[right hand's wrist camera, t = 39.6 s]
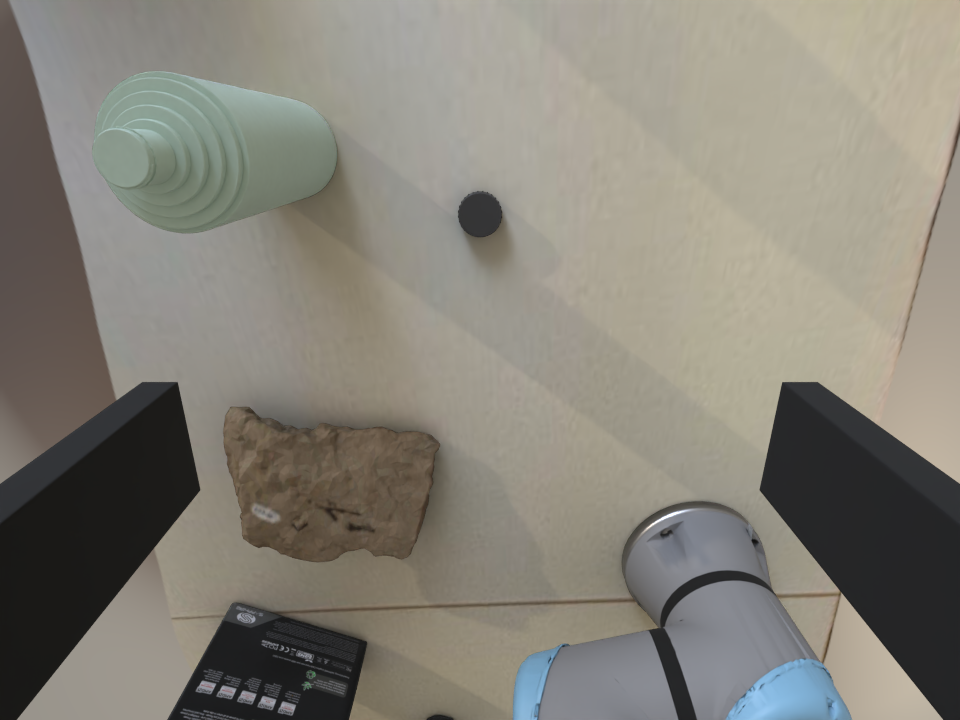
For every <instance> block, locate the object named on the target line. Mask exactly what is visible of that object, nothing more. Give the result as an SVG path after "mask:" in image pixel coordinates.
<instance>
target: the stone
mask: <svg viewBox="0 0 960 720" xmlns="http://www.w3.org/2000/svg"><path fill="white" fill-rule="evenodd" d="M223 434H224V447H225V453H226V455H227V465H228V468H229V473H230V474H231V476H232V478H233V482H234V486H235V490H236V495H237V496H238V502H239V506H240V508H241V512H242V513H241V515H240V518H241V520H242V522H241V524H242V536H243V539H244V540H246V541H247V542H249V543H250V544H252V545H254V546H256V547H258V548H260V547H270V548H272V549H275V550H277V551H278V552H279V553H280V554H285V555H287V556H290V557H292V558H296V559H300V560H306V561H311V562H325V561H332V560H334V559H336V558H338V557H339V556H340V555H341V554H343V553H345V552H347V551H354V550H357V549H363V548H365V549H367V550H368V551H370V552H371V553H372V554H373V555H374V556H382V555H387V556H393V557H396V558H398V559H404V558H406V557H408V556H409V555H410V554H411V551H412V548H413V546H414V544H415V543H416V541H417V538H418V534H419V532H420V529H421V526H422V523H423V519H424V517H425V512H426V508H427V506H428V501H429V491H430V489H431V487H432V484H433V478H432V474H433V470H434V460H435V453H436V452H437V451H438V450H439V447H440V443H439V442H438V441H437V440H436V439H434V437H433V436H432V435H429V434H427V435H426V434H425V433H421V432H408V431H407V432H400V433H398V432H394V431H393V430H388V429H386V428H384V427H374V428H371V429H370V428H367V429H359V430H355V429H352V428H349V427H335V426H332V425H329V424H326V423H321V424H319V425H318V426H317V428H316V429H313V430H311V429H308V428H302V429H299V430H298V429H297V428H295V427H293V426H290V425H286V426H283V425H282V424H280V423H279V422H278V421H276V420H273V419H271V418H260V417H259V416H258V415H257V414H255V412H254V411H253V410H252V409H251V408H249V407H230V409H229V411H228V412H227V414H226V416H225V423H224V430H223Z"/></svg>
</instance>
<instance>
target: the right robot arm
mask: <svg viewBox="0 0 960 720" xmlns="http://www.w3.org/2000/svg"><path fill="white" fill-rule="evenodd" d="M199 491H200V486H199V481H198V477H197V472H196V467H195V462H194V458H193V453H192V448H191V443H190V439H189V434H188V429H187V424H186V420H185V415H184V410H183V405H182V401H181V396H180V391H179V386H178V382H142V383H141V384H139V385H138V386H136V387H135V388H134V389H132V390H131V391H129V392H128V393H127V394H125V395H124V396H122V397H121V398H120V399H118V400H117V401H115V402H114V403H113V404H111V405H110V406H108V407H107V408H106V409H104V410H103V411H101V412H100V413H99V414H97V415H96V416H95V417H93V418H92V419H90V420H89V421H87V422H86V423H85V424H83V425H82V426H81V427H79V428H78V429H76V430H75V431H74V432H72V433H71V434H69V435H68V436H67V437H65V438H64V439H62V440H61V441H60V442H58V443H57V444H55V445H54V446H53V447H51V448H50V449H48V450H47V451H46V452H44V453H43V454H41V455H40V456H39V457H37V458H36V459H34V460H33V461H32V462H30V463H29V464H27V465H26V466H25V467H23V468H22V469H20V470H19V471H18V472H16V473H15V474H13V475H12V476H11V477H9V478H8V479H6V480H5V481H4V482H2V483H1V484H0V720H17V719H18V717H19V716H20V715H21V714H22V712H23V711H24V710H25V709H26V707H27V706H28V705H29V704H30V702H31V701H32V700H33V699H34V697H35V696H36V695H37V694H38V692H39V691H40V690H41V689H42V687H43V686H44V685H45V684H46V682H47V681H48V680H49V679H50V677H51V676H52V675H53V674H54V672H55V671H56V670H57V669H58V667H59V666H60V665H61V664H62V662H63V661H64V660H65V659H66V657H67V656H68V655H69V654H70V652H71V651H72V650H73V649H74V647H75V646H76V645H77V644H78V642H79V641H80V640H81V639H82V637H83V636H84V635H85V634H86V632H87V631H88V630H89V629H90V627H91V626H92V625H93V624H94V622H95V621H96V620H97V619H98V617H99V616H100V615H101V614H102V612H103V611H104V610H105V609H106V607H107V606H108V605H109V604H110V602H111V601H112V600H113V599H114V597H115V596H116V595H117V594H118V592H119V591H120V590H121V589H122V587H123V586H124V585H125V584H126V582H127V581H128V580H129V579H130V577H131V576H132V575H133V574H134V572H135V571H136V570H137V569H138V567H139V566H140V565H141V564H142V562H143V561H144V560H145V559H146V557H147V556H148V555H149V554H150V552H151V551H152V550H153V549H154V547H155V546H156V545H157V544H158V542H159V541H160V540H161V539H162V537H163V536H164V535H165V534H166V532H167V531H168V530H169V529H170V527H171V526H172V525H173V524H174V522H175V521H176V520H177V519H178V517H179V516H180V515H181V514H182V512H183V511H184V510H185V509H186V507H187V506H188V505H189V504H190V502H191V501H192V500H193V499H194V497H195V496H196V495H197V494H198V492H199ZM760 491H761V492H762V494H763V495H764V496H765V497H766V499H767V500H768V501H769V502H770V504H771V505H772V506H773V507H774V509H775V510H776V511H777V512H778V514H779V515H780V516H781V517H782V519H783V520H784V521H785V522H786V524H787V525H788V526H789V527H790V529H791V530H792V531H793V532H794V534H795V535H796V536H797V537H798V539H799V540H800V541H801V542H802V544H803V545H804V546H805V547H806V549H807V550H808V551H809V552H810V554H811V555H812V556H813V557H814V559H815V560H816V561H817V562H818V564H819V565H820V566H821V567H822V569H823V570H824V571H825V572H826V574H827V575H828V576H829V577H830V579H831V580H832V581H833V582H834V584H835V585H836V586H837V587H838V589H839V590H840V591H841V592H842V594H843V595H844V596H845V597H846V599H847V600H848V601H849V602H850V604H851V605H852V606H853V607H854V609H855V610H856V611H857V612H858V614H859V615H860V616H861V617H862V619H863V620H864V621H865V622H866V624H867V625H868V626H869V627H870V629H871V630H872V631H873V632H874V634H875V635H876V636H877V637H878V639H879V640H880V641H881V642H882V644H883V645H884V646H885V647H886V649H887V650H888V651H889V652H890V654H891V655H892V656H893V657H894V659H895V660H896V661H897V662H898V664H899V665H900V666H901V667H902V669H903V670H904V671H905V672H906V674H907V675H908V676H909V677H910V679H911V680H912V681H913V682H914V684H915V685H916V686H917V687H918V689H919V690H920V691H921V692H922V694H923V695H924V696H925V697H926V699H927V700H928V701H929V702H930V704H931V705H932V706H933V707H934V709H935V710H936V711H937V712H938V714H939V715H940V716H941V717H942V719H943V720H960V484H959V483H958V482H956V481H955V480H953V479H952V478H951V477H949V476H948V475H947V474H945V473H944V472H942V471H941V470H940V469H938V468H937V467H935V466H934V465H933V464H931V463H930V462H928V461H927V460H926V459H924V458H923V457H921V456H920V455H919V454H917V453H916V452H914V451H913V450H912V449H910V448H909V447H907V446H906V445H905V444H903V443H902V442H900V441H899V440H898V439H896V438H895V437H893V436H892V435H891V434H889V433H888V432H886V431H885V430H884V429H882V428H881V427H879V426H878V425H877V424H875V423H874V422H873V421H871V420H870V419H868V418H867V417H866V416H864V415H863V414H861V413H860V412H859V411H857V410H856V409H854V408H853V407H852V406H850V405H849V404H847V403H846V402H845V401H843V400H842V399H840V398H839V397H838V396H836V395H835V394H833V393H832V392H831V391H829V390H828V389H826V388H825V387H824V386H822V385H821V384H819V383H818V382H782V386H781V391H780V396H779V401H778V405H777V410H776V415H775V420H774V424H773V429H772V434H771V439H770V443H769V448H768V453H767V458H766V462H765V467H764V472H763V476H762V481H761V486H760ZM622 571H623V575H624V578H625V581H626V584H627V587H628V589H629V592H630V594H631V595H632V597H633V598H634V600H635V601H636V602H637V603H638V605H639V606H640V607H641V608H642V609H643V610H644V611H645V612H647V614H648V615H649V616H650V618H651V619H652V620H653V621H654V623H655V624H656V625H657V626H658V627H659V628H657V629H652V630H647V631H642V632H636V633H631V634H626V635H621V636H616V637H611V638H606V639H601V640H596V641H591V642H586V643H581V644H576V645H571V646H570V645H569V644H561V645H559V646H557V647H556V648H554V649H550V650H546V651H542V652H538V653H534V654H532V655H530V656H529V657H527V659H526V660H525V661H524V662H523V663H522V664H521V666H520V668H519V670H518V673H517V677H516V681H515V688H514V698H513V720H852V718H851V715H850V713H849V711H848V708H847V707H846V705H845V703H844V701H843V700H842V698H841V696H840V695H839V693H838V691H837V690H836V688H835V686H834V684H833V680H832V677H831V676H830V673H829V671H828V670H827V669H826V668H825V666H824V665H823V664H822V663H821V662H820V661H819V659H818V658H817V656H816V655H815V653H814V652H813V650H812V649H811V647H810V646H809V644H808V643H807V641H806V640H805V638H804V637H803V635H802V634H801V632H800V631H799V629H798V628H797V626H796V625H795V623H794V622H793V620H792V619H791V617H790V616H789V614H788V613H787V611H786V610H785V608H784V607H783V605H782V604H781V602H780V601H779V599H778V598H777V596H776V595H775V593H774V592H773V590H772V588H771V583H770V578H769V572H768V567H767V562H766V557H765V553H764V549H763V546H762V543H761V541H760V538H759V537H758V535H757V534H756V532H755V531H754V529H753V528H752V527H751V525H750V524H749V523H748V521H747V520H746V519H745V518H744V517H743V516H742V515H740V514H739V513H738V512H736V511H734V510H733V509H731V508H729V507H726V506H723V505H720V504H716V503H711V502H686V503H681V504H677V505H673V506H670V507H667V508H665V509H662V510H660V511H658V512H656V513H655V514H653V515H651V516H650V517H648V518H647V519H646V520H645V521H643V522H642V523H641V524H640V525H639V526H638V527H637V528H636V529H635V530H634V532H633V533H632V534H631V536H630V537H629V539H628V541H627V543H626V545H625V548H624V551H623V555H622Z"/></svg>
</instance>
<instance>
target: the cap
mask: <svg viewBox="0 0 960 720" xmlns="http://www.w3.org/2000/svg"><path fill="white" fill-rule="evenodd" d="M458 213H459V215H458V218H459V222H460V224H461V227H462V228H463V229H464V231H466V232H467V233H468V234H470V235H472V236H475V237H485V236H488V235H490V234H492V233H493V232H494V231H496V229H497V228H498V227H499V224H500V223H501V218H502V211H501V206H500V205H499V201H497V200H496V197H493V196H492V194H489V193H488V192H487V193H486V192H483V191H482V192H478V191H477V192H473V193H471V194H468V196H467V197H465V198H464V200H463V201H462V202H461V205H460V206H459V210H458Z"/></svg>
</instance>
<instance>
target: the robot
mask: <svg viewBox="0 0 960 720" xmlns="http://www.w3.org/2000/svg"><path fill="white" fill-rule="evenodd" d="M427 720H453V719H452V718H448V717H443V716H433V717H431V718H428V719H427Z"/></svg>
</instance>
